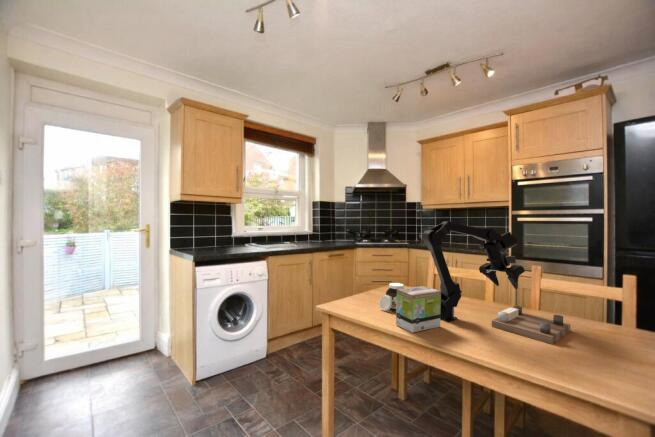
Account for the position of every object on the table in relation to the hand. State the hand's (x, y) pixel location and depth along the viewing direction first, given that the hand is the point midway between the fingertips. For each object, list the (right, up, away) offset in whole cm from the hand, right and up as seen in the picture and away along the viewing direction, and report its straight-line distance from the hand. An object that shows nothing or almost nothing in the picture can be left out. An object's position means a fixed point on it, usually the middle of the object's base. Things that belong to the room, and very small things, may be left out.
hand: (507, 287), depth 128 cm
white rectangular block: (-6, -10, -10) cm, 15 cm away
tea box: (-43, -13, -11) cm, 46 cm away
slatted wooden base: (+1, -13, -14) cm, 19 cm away
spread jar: (-48, -13, +10) cm, 51 cm away
